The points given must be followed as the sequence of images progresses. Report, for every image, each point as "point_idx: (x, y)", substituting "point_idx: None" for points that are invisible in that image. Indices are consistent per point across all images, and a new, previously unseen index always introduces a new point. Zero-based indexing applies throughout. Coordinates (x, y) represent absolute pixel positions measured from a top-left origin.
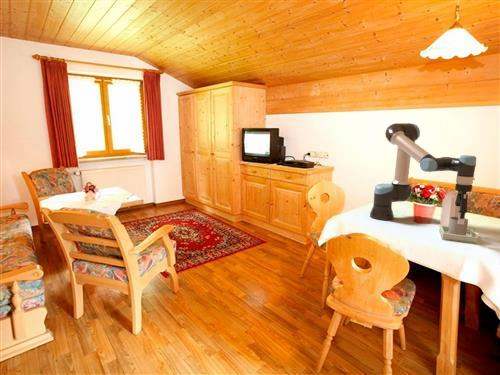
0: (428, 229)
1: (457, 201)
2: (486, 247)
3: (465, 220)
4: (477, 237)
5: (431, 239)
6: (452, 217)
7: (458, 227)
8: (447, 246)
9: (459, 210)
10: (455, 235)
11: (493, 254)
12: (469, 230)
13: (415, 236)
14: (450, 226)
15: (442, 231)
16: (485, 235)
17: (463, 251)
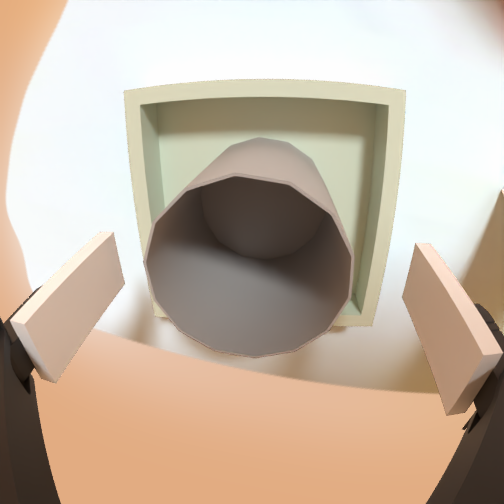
0: (389, 15)
1: (457, 488)
2: (138, 315)
3: (297, 331)
4: (160, 313)
5: (113, 27)
6: (332, 213)
7: (172, 227)
8: (36, 128)
9: (435, 355)
10: (133, 182)
11: None
12: (360, 304)
13: None
14: (222, 159)
15: (182, 85)
16: (372, 358)
17: (17, 200)
